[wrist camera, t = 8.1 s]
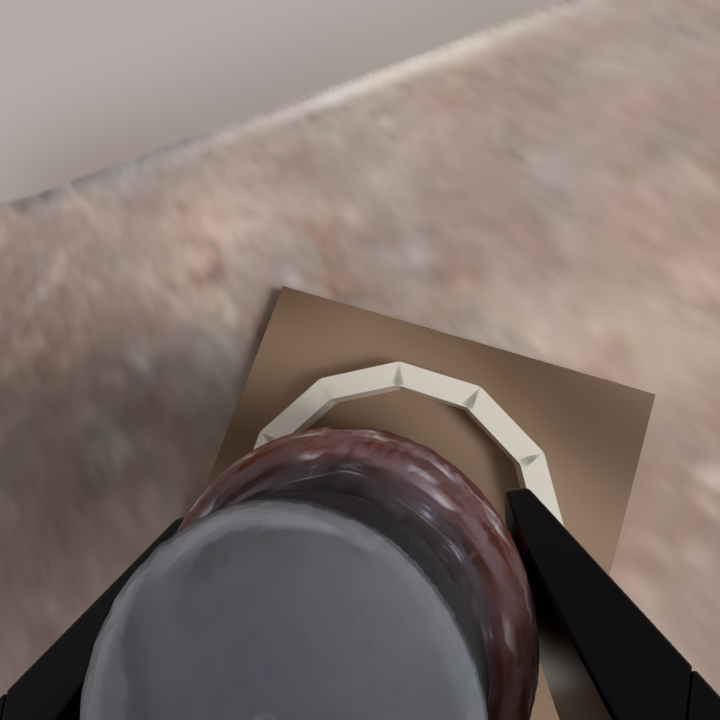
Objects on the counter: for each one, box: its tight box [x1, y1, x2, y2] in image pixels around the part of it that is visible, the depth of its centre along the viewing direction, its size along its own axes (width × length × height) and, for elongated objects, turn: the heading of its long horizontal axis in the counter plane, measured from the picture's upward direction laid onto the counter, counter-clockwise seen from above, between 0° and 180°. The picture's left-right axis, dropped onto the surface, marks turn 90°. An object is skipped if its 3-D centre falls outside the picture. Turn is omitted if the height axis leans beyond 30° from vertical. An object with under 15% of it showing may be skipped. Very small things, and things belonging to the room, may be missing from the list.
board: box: [206, 286, 655, 720], centre depth 17 cm, size 14×14×1 cm
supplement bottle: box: [80, 426, 539, 720], centre depth 10 cm, size 6×6×11 cm
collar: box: [253, 361, 564, 526], centre depth 15 cm, size 11×11×1 cm
